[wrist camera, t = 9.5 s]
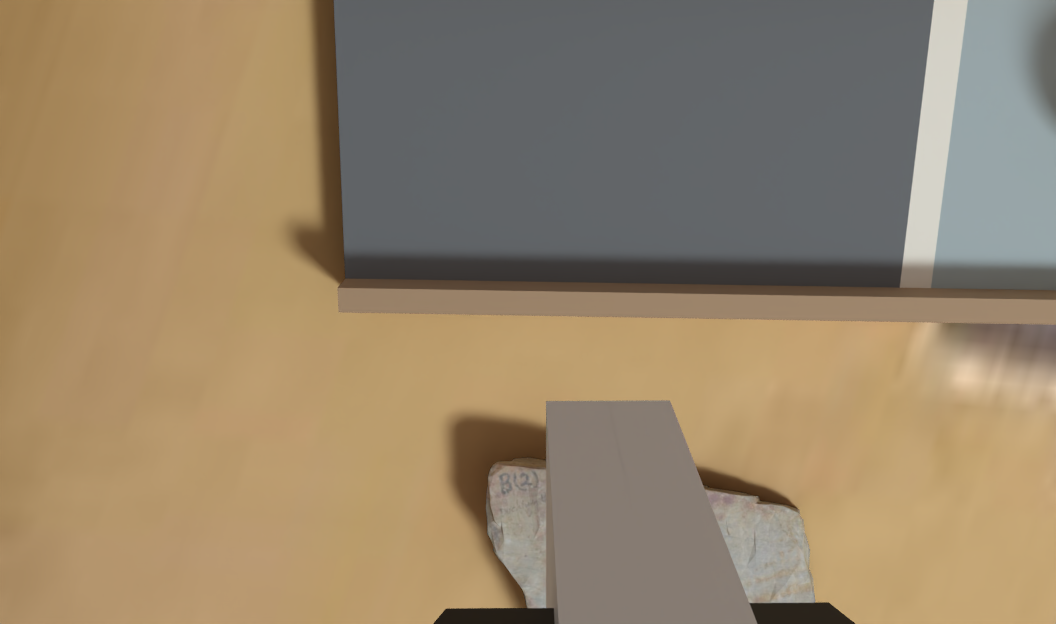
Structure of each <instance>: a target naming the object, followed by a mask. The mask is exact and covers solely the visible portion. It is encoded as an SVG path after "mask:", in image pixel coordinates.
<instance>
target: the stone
mask: <svg viewBox="0 0 1056 624" xmlns="http://www.w3.org/2000/svg"><path fill="white" fill-rule="evenodd" d="M703 486H704V489H705V491H706V494H707V496H708V499H709V502H710V504H711V507H712V509H713V512H714V514H715V517H716V519H717V522H718V524H719V527H720V530H721V532H722V535H723V537H724V540H725V542H726V545H727V547H728V550H729V553H730V555H731V558H732V560H733V563H734V565H735V568H736V570H737V573H738V575H739V578H740V581H741V583H742V586H743V588H744V591H745V593H746V596H747V598H748V601H749V603H815V595H814V586H813V578H812V575H811V572H810V570H809V557H810V549H809V545H808V541H807V538H806V535H805V533H804V531H805V530H804V522H803V519H802V517H801V516H800V511H799V509H797V508H794V507H791V506H788V505H785V504H779V503H773V502H766V501H760V499H759V496H754V495H749V494H747V493H742V492H736V491H729V490H723V489H716V488H709V487H708V486H706V485H703ZM486 513H487V524H488V531H487V534H488V535H489V537H490V539H491V541H492V543H493V547H494V548H493V551H494V552H495V554H496V555H497V557H498V558H499V560H500V561H501V562H502V563H503V564H504V565H505V566H506V568H507V569H508V570H509V572H510V573H511V575H512V576H513V577H514V579H515V580H516V582H517V583H518V584H519V585H520V587H521V588H522V590H523V592H524V597H525V601H526V605H527V608H546V460H541V459H536V458H530V457H526V458H515V459H513V460H512V461H500V462H496V463H495V464H493V465H492V467H491V469H490V472H489V475H488V487H487V497H486Z"/></svg>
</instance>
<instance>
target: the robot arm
mask: <svg viewBox="0 0 1056 624" xmlns="http://www.w3.org/2000/svg"><path fill="white" fill-rule="evenodd" d="M434 624H855V623H854V622H852V621H851V620H850V619H849V618H847V617H846V616H845V615H844V614H842V613H841V612H840V611H839V610H837V609H836V608H835V607H833V606H832V605H831V604H830V603H749V601H748V598H747V596H746V593H745V591H744V588H743V586H742V583H741V581H740V578H739V575H738V573H737V570H736V568H735V565H734V563H733V560H732V558H731V555H730V553H729V550H728V547H727V545H726V542H725V540H724V537H723V535H722V532H721V530H720V527H719V524H718V522H717V519H716V517H715V514H714V512H713V509H712V507H711V504H710V502H709V499H708V496H707V494H706V491H705V489H704V486H703V484H702V481H701V479H700V476H699V474H698V471H697V468H696V466H695V463H694V461H693V458H692V456H691V453H690V451H689V448H688V445H687V443H686V440H685V438H684V435H683V433H682V430H681V428H680V425H679V423H678V420H677V417H676V415H675V412H674V410H673V407H672V405H671V402H670V401H546V608H477V609H445V611H444V612H443V613H442V614H441V615H440V616H439V618H438V619H437V620H436V621H435V622H434Z"/></svg>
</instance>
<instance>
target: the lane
mask: <svg viewBox="0 0 1056 624" xmlns="http://www.w3.org/2000/svg"><path fill="white" fill-rule="evenodd" d="M334 19H335V44H336V68H337V92H338V116H339V140H340V164H341V188H342V212H343V236H344V260H345V279H344V281H343V282H342V283H341V284H340V286H339V287H338V307H339V312H352V313H410V314H469V315H527V316H586V317H644V318H703V319H762V320H820V321H879V322H937V323H996V324H1054V325H1056V0H334Z"/></svg>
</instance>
